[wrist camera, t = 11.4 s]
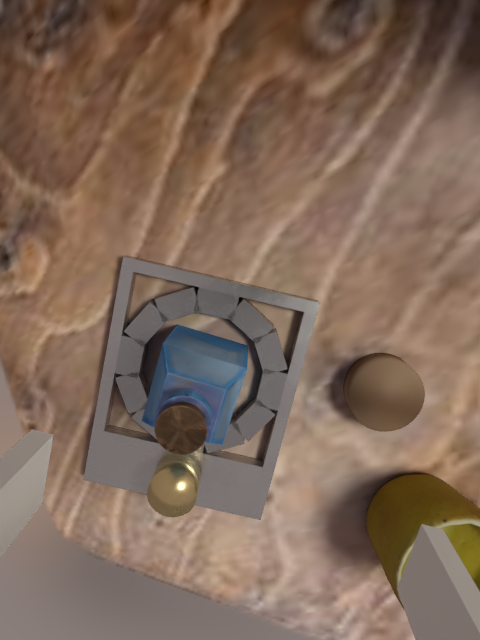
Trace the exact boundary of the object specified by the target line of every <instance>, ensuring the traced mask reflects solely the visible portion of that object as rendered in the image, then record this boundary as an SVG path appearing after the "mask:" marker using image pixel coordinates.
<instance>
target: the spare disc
mask: <svg viewBox="0 0 480 640" xmlns="http://www.w3.org/2000/svg"><path fill="white" fill-rule="evenodd" d="M343 389H344V396H345V399H346V401H347V403H348V405H349V407H350V409H351V411H352V413H353V414H354V416H355V417H356V419H357V420H358V421H359V422H360V423H361V424H363V425H364V426H366V427H368V428H370V429H372V430H376V431H385V432H386V431H394V430H397V429H400V428H402V427H405V426H406V425H408V424H409V423H410V422H412V421H413V420H414V419H415V418H416V417H417V415H418V414H419V412H420V410H421V408H422V406H423V403H424V397H425V391H424V386H423V383H422V380H421V378H420V377H419V375H418V374H417V373H416V372H415V371H414V370H413V369H412V368H411V367H410V366H409V365H407V364H406V363H405V362H404V361H403V360H402V359H400V358H398V357H397V356H394V355H391V354H387V353H374V354H370V355H367V356H365V357H363V358H361V359H359V360H358V361H357V362H355V363H354V364H353V365H352V366H351V368H350V369H349V371H348V372H347V374H346V377H345V380H344V386H343Z"/></svg>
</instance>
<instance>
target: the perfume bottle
mask: <svg viewBox="0 0 480 640" xmlns="http://www.w3.org/2000/svg"><path fill="white" fill-rule="evenodd" d="M247 358H248V346H247V345H244V344H241V343H237V342H234V341H231V340H227V339H224V338H221V337H217V336H214V335H211V334H207V333H204V332H201V331H197V330H194V329H191V328H187V327H184V326H181V325H177V326H176V327H175V328H174V330H173V331H172V332H171V333H170V335H169V336H168V337H167V339H166V340H165V341H164V342H163V345H162V349H161V352H160V356H159V360H158V363H157V367H156V370H155V374H154V378H153V381H152V385H151V389H150V392H149V396H148V399H147V403H146V407H145V410H144V414H143V418H142V422H144V423H146V424H148V425H150V426H152V427H155V429H154V431H155V436H156V439H157V441H158V442H159V444H160V445H161V446H162V447H163V448H164V449H165V450H166V451H169V452H171V453H173V454H178V455H186V454H191V453H193V452H195V451H197V450H198V449H199V448H200V447H201V446H202V445H203V444H204V442H206V443H210V444H219V445H223V442H224V439H225V436H226V432H227V429H228V426H229V423H230V420H231V417H232V414H233V410H234V407H235V404H236V401H237V398H238V395H239V392H240V389H241V385H242V382H243V379H244V376H245V373H246V370H247Z"/></svg>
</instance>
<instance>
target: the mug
mask: <svg viewBox="0 0 480 640" xmlns="http://www.w3.org/2000/svg"><path fill="white" fill-rule="evenodd" d="M366 524H367V531H368V535H369V538H370V541H371V544H372V546H373V548H374V550H375V552H376V554H377V556H378V557H379V560H380V562H381V564H382V566H383V569H384V571H385V574H386V576H387V579H388V581H389V582H390V584H391V587H392V589H393V591H394V593H395V595H396V597H397V598H398V600H399V602H400V603H401V605H402V607H403V604H402V601H401V599H400V596H399V593H398V591H397V587H398V584H399V582H400V579H401V577H402V574H403V571H404V569H405V566H406V563H407V561H408V558H409V556H410V553H411V550H412V548H413V545H414V543H415V540H416V537H417V535H418V532H419V530H420V527H421V524H423V525H427V526H431V527H436V528H440V529H443V530H444V532H445V534H446V535H447V537H448V539H449V540H450V542H451V544H452V546H453V547H454V549H455V551H456V552H457V554H458V556H459V557H460V559H461V561H462V562H463V564H464V566H465V567H466V569H467V571H468V573H469V574H470V576H471V578H472V579H473V581H474V583H475V584H476V586H477V588H478V589H479V591H480V508H479V507H477V506H476V505H475V504H473V503H472V502H471V501H469V500H468V499H467V498H465V497H464V496H463V495H461V494H460V493H459V492H458V491H457V490H455V489H454V488H453V487H451V486H450V485H449V484H447V483H446V482H444V481H443V480H441V479H439V478H437V477H435V476H432V475H427V474H412V475H404V476H400V477H398V478H395V479H393V480H391V481H389V482H388V483H386V484H385V485H384V486H382V487H381V488H380V489H379V490H378V492H377V493H376V494H375V496H374V497H373V499H372V501H371V503H370V505H369V508H368V511H367V518H366ZM403 608H404V607H403Z"/></svg>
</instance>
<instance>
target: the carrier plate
mask: <svg viewBox="0 0 480 640" xmlns="http://www.w3.org/2000/svg"><path fill="white" fill-rule="evenodd" d="M136 273H140V274H145V275H149V276H153V277H158V278H162V279H166V280H170V281H175V282H179V283H183V284H187V285H192V287H189V288H185V289H182V290H179V291H176V292H172V293H169V294H166V295H162V296H159V297H157V298H155V301H154V300H152V301H151V302H150V303H149V304H148V305H147V306H146V307H145V308H144V309H143V310H142V311H141V312H140V314H139V315H138V316H137V317H136V318H135V319H134V320H133V321H132V322H131V324H130V325H129V326H128V327H127V322H128V316H129V311H130V306H131V300H132V295H133V290H134V284H135V279H136ZM196 287H199V289H198V292H197V289H196ZM239 297H243V299H242V300H241V301H240V302H239V303H238V300H239ZM246 298H247V299H251V300H255V301H260V302H264V303H268V304H272V305H277V306H281V307H285V308H289V309H294V310H298V311H302V314H301V318H300V322H299V325H298V329H297V333H296V337H295V340H294V344H293V348H292V352H291V355H290V359H289V363H288V367H287V364H286V361H285V357H284V354H283V351H282V347H281V344H280V341H279V337H278V334H277V330H276V328H275V329H272V328H273V327H274V325H273V323H272V322H271V321H269V320H268V319H267V318H266V317H265V316H264V315H263V314H262V313H261V312H260V311H259V310H258V309H257V308H256V307H254V306H253V305H252V304H251V303H250V302H249V301H248V300H247V299H246ZM319 304H320V303H319V301H318V300H313V299H309V298H305V297H301V296H296V295H292V294H288V293H284V292H279V291H275V290H271V289H267V288H262V287H258V286H254V285H250V284H246V283H241V282H237V281H233V280H229V279H224V278H220V277H216V276H212V275H207V274H203V273H199V272H195V271H190V270H186V269H182V268H178V267H173V266H169V265H165V264H161V263H156V262H152V261H148V260H144V259H139V258H135V257H131V256H123V260H122V266H121V271H120V277H119V283H118V288H117V294H116V299H115V305H114V311H113V316H112V322H111V327H110V333H109V339H108V344H107V350H106V356H105V361H104V367H103V372H102V378H101V384H100V389H99V395H98V400H97V406H96V412H95V417H94V423H93V428H92V434H91V440H90V445H89V451H88V457H87V462H86V468H85V473H84V479H83V480H86V481H90V482H95V483H99V484H104V485H108V486H112V487H117V488H121V489H126V490H130V491H135V492H139V493H143V494H147V497H148V501H149V503H150V505H151V507H152V508H153V509H154V510H155V511H156V512H158V513H159V514H161V515H164V516H167V517H178V516H182V515H184V514H186V513H188V512H189V511H190V510H191V509H192V508H193V506H194V505H197V506H201V507H205V508H210V509H214V510H219V511H223V512H228V513H232V514H236V515H241V516H245V517H250V518H254V519H259V520H261V516H262V513H263V509H264V505H265V502H266V498H267V494H268V491H269V487H270V483H271V480H272V476H273V472H274V469H275V465H276V461H277V458H278V454H279V450H280V447H281V443H282V439H283V436H284V432H285V428H286V425H287V421H288V417H289V414H290V410H291V406H292V403H293V399H294V395H295V392H296V388H297V384H298V381H299V377H300V373H301V370H302V366H303V362H304V359H305V355H306V351H307V348H308V344H309V340H310V337H311V333H312V330H313V326H314V322H315V319H316V315H317V311H318V308H319ZM196 312H199V313H203V314H208V315H212V316H216V317H220V318H225V319H229V320H231V321H232V322H233V323H234V324H235V325H236V326H237V327H238V328H239V329H241V330H242V331H243V332H244V333H245V334H246V335H247V336H248V337H249V338H250V339H251V340H252V341H254V344H255V347H256V350H257V353H258V357H259V360H260V363H261V366H262V373H261V377H260V381H259V385H258V389H257V393H256V397H255V398H254V399H253V400H252V401H251V402H250V403H249V404H248V405H247V406H246V407H245V408H244V409H243V410H242V411H241V412H240V413H239V414H238V415H237V416H236V417H235V418H231V420H230V423H229V426H228V429H227V432H226V436H225V439H224V442H223V445H219V444H210V443H206V442H204V444H203V445H202V446H201V447H200V448H199V449H198V450H197V451H195V452H193V453H191V454H186V455H178V454H173V453H171V452H169V451H166V450H165V449H164V448H163V447H162V446H161V445H160V444H159V442H158V441H157V439H156V436H155V431H154V429H155V427H152V426H150V425H148V424H146V423H144V422H142V418H143V414H144V410H145V407H146V403H147V399H148V396H149V392H150V391H149V388H148V385H147V382H146V380H145V377H144V374H143V371H142V369H143V364H144V359H145V354H146V349H147V344H148V341H149V339H150V338H151V337H152V336H153V335H154V334H155V333H156V332H157V331H158V330H159V329H160V328H161V326H162V325H163V324H164V323H165V322H166V321H169V320H173V319H176V318H179V317H183V316H186V315H190V314H193V313H196ZM126 327H127V328H126ZM271 329H272V330H271ZM286 369H287V370H286ZM116 382H117V384H118V387H119V390H120V393H121V395H122V398H123V401H124V403H125V406H126V409H127V411H128V414H129V413H132V412H135V413H134V414H133V416H132V417H131V418H132V419H133V420H134V421H136V422H137V423H138V424H139V425H140V426H141V427H143V428H144V429H145V430H146V431H147V432H148V433H150V434H151V435H150V434H145V433H141V432H137V431H132V430H128V429H123V428H119V427H115V426H110V425H108V424H109V419H110V413H111V408H112V403H113V397H114V392H115V387H116ZM275 410H276V412H275ZM273 417H274V419H273V423H272V427H271V431H270V434H269V438H268V442H267V446H266V449H265V453H264V457H263V460H259V459H255V458H250V457H246V456H242V455H237V454H233V453H229V452H224V451H220V450H222V449H226V448H230V447H233V446H237V445H241V444H244V438H246V439H247V440H248V441H249V440H250V439H251V438H252V437H253V436H254V435H255V434H256V433H257V432H258V431H259V430H261V429H262V428H263V427H264V426H265V425H266V424H267V423H268V422H269V421H270V420H271V419H272V418H273ZM204 445H205V447H204Z"/></svg>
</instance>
